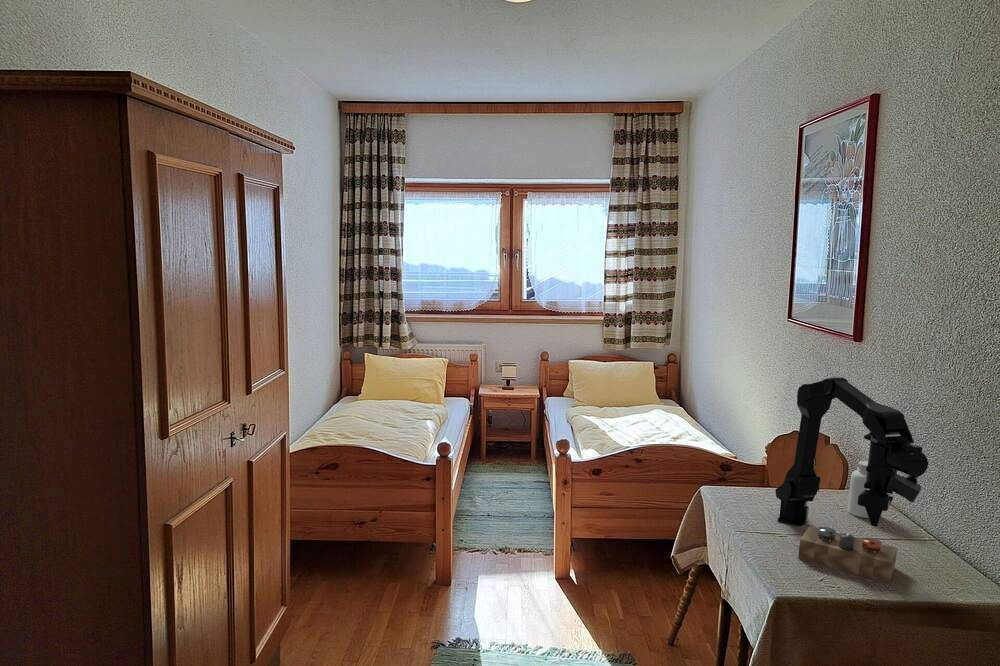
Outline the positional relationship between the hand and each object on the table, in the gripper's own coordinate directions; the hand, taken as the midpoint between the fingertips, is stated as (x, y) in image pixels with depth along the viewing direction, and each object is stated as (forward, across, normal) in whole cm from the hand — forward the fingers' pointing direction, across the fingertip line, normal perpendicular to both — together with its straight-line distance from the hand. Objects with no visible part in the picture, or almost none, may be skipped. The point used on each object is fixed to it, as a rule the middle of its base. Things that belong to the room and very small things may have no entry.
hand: (874, 526), depth 175 cm
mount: (+11, 0, +5) cm, 12 cm away
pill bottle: (+11, +38, +7) cm, 40 cm away
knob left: (+11, 0, +10) cm, 15 cm away
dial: (+6, -3, +5) cm, 8 cm away
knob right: (+11, 0, 0) cm, 11 cm away
